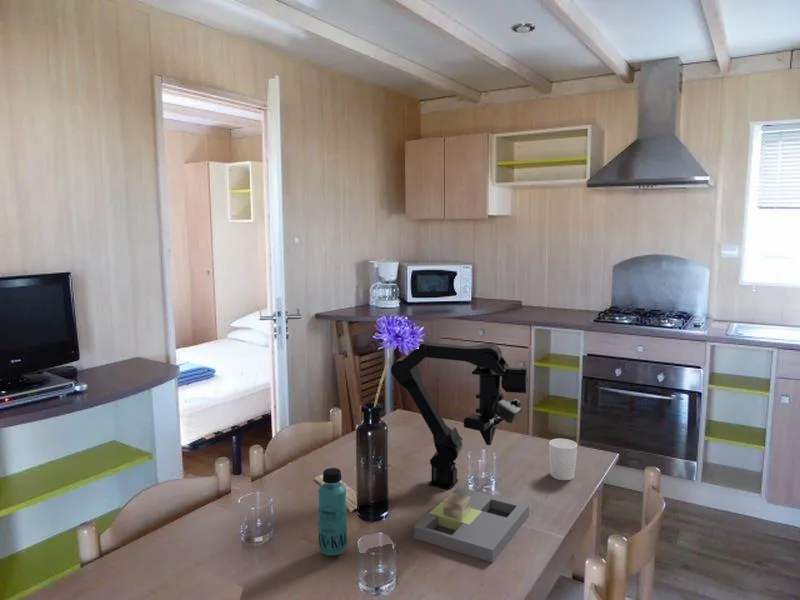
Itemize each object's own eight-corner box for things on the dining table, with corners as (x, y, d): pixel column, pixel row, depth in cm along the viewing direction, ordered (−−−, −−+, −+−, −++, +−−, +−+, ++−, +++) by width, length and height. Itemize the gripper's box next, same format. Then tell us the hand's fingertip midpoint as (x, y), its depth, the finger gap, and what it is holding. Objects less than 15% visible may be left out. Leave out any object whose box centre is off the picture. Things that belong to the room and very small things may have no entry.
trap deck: (414, 538, 140) (413, 526, 140) (457, 497, 161) (457, 487, 160) (492, 562, 130) (492, 550, 130) (528, 516, 150) (529, 504, 150)
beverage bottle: (319, 546, 137) (317, 464, 134) (348, 545, 137) (346, 463, 135) (318, 562, 130) (315, 477, 128) (348, 561, 131) (346, 475, 128)
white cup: (577, 482, 169) (578, 449, 168) (549, 480, 171) (549, 447, 169) (574, 471, 177) (575, 439, 175) (547, 469, 178) (548, 437, 177)
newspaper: (314, 481, 173) (314, 476, 172) (336, 476, 176) (336, 470, 176) (351, 515, 153) (351, 509, 153) (375, 508, 157) (375, 502, 156)
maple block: (443, 515, 145) (443, 500, 144) (452, 507, 149) (452, 492, 149) (461, 520, 142) (462, 505, 142) (470, 511, 147) (470, 496, 146)
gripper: (501, 404, 149) (500, 462, 151) (530, 387, 164) (529, 440, 166) (462, 396, 156) (462, 453, 158) (494, 381, 171) (493, 432, 173)
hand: (488, 444), depth 164 cm, fingers closed
